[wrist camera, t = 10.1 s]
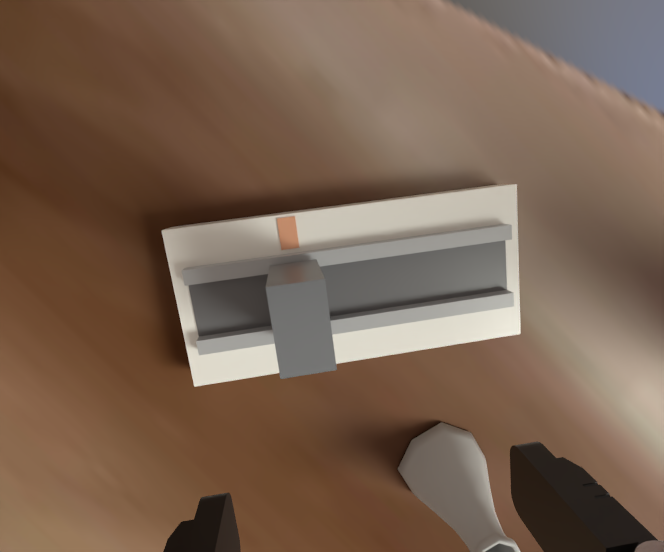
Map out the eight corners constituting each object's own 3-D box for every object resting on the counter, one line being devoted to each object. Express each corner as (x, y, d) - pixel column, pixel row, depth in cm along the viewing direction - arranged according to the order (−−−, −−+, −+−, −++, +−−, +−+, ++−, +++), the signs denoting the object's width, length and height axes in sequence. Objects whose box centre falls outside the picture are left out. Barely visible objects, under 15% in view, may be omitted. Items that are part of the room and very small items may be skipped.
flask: (440, 512, 37) (497, 628, 27) (381, 468, 35) (419, 575, 26) (497, 453, 36) (576, 550, 27) (440, 406, 35) (501, 491, 25)
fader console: (498, 184, 31) (524, 183, 28) (503, 323, 34) (528, 338, 30) (171, 226, 29) (156, 232, 26) (201, 371, 32) (191, 393, 28)
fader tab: (315, 256, 28) (324, 278, 21) (324, 327, 29) (336, 369, 22) (270, 262, 28) (265, 287, 21) (281, 333, 29) (280, 378, 22)
